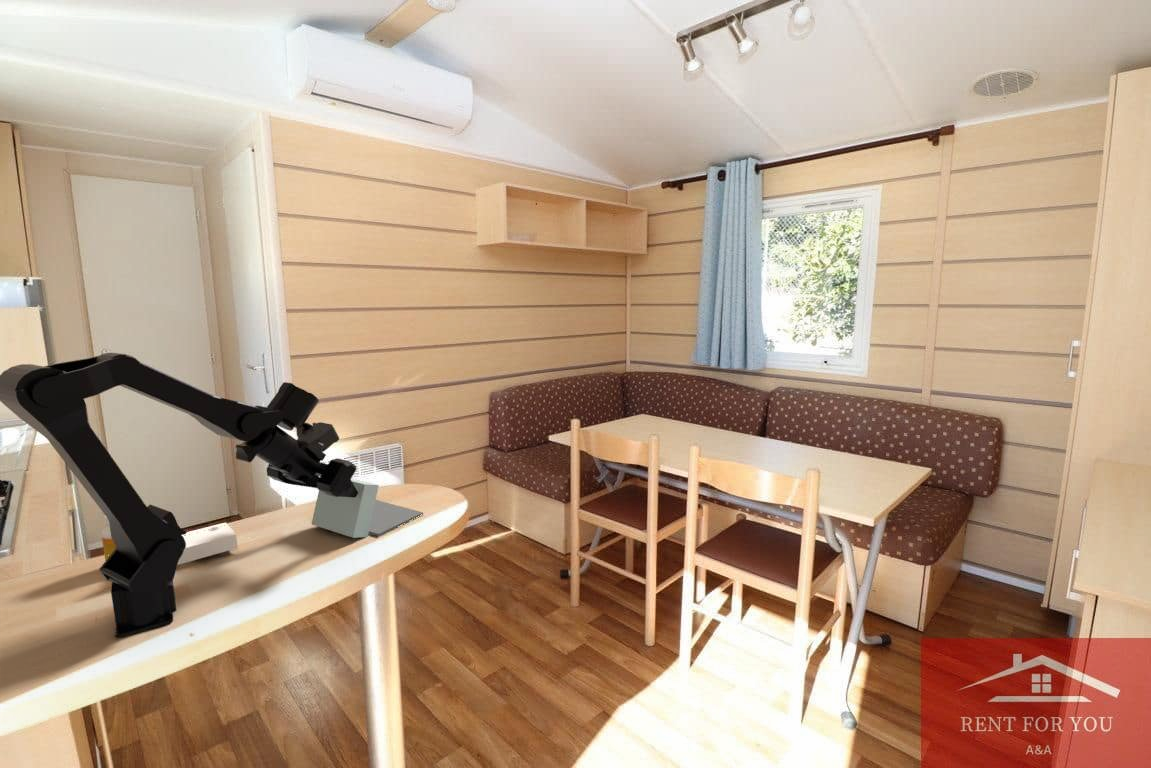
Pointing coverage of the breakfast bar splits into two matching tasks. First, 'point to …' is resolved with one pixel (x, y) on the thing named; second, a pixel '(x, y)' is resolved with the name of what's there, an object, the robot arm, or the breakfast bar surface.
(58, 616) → the breakfast bar surface
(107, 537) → the supplement bottle
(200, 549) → the white box
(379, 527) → the mat
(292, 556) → the breakfast bar surface
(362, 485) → the grey-green slab
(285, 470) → the robot arm
